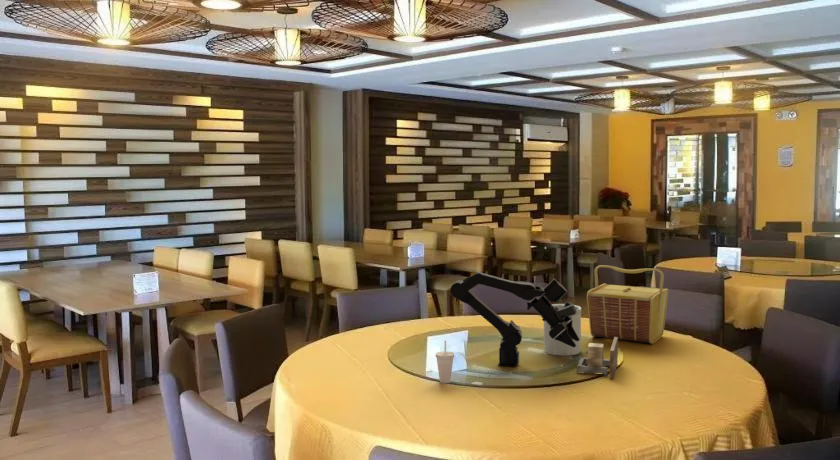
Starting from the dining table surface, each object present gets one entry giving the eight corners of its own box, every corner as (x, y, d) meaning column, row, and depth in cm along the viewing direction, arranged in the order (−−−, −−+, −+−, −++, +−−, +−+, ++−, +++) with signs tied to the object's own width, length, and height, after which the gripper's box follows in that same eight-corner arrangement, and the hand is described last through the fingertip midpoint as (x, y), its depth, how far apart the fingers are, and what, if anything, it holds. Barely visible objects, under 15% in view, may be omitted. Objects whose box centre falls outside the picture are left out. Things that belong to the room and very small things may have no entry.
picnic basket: (670, 335, 305) (671, 265, 303) (654, 348, 284) (656, 273, 281) (603, 327, 321) (604, 260, 318) (583, 339, 299) (584, 268, 297)
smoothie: (456, 379, 245) (456, 339, 244) (451, 385, 239) (451, 344, 238) (439, 378, 247) (438, 338, 246) (433, 383, 241) (432, 342, 240)
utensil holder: (538, 354, 277) (539, 309, 275) (547, 345, 290) (547, 302, 289) (577, 357, 271) (577, 312, 270) (583, 348, 285) (584, 305, 283)
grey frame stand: (575, 376, 248) (575, 347, 247) (582, 361, 266) (582, 334, 266) (613, 379, 243) (613, 350, 243) (617, 363, 262) (617, 337, 261)
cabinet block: (585, 371, 254) (586, 346, 253) (587, 367, 258) (587, 342, 258) (602, 372, 252) (602, 347, 251) (603, 368, 257) (603, 344, 256)
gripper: (559, 301, 248) (590, 335, 245) (566, 292, 265) (596, 323, 263) (535, 321, 251) (567, 355, 249) (544, 311, 269) (574, 342, 266)
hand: (576, 343), depth 256 cm, fingers open, 9 cm apart
